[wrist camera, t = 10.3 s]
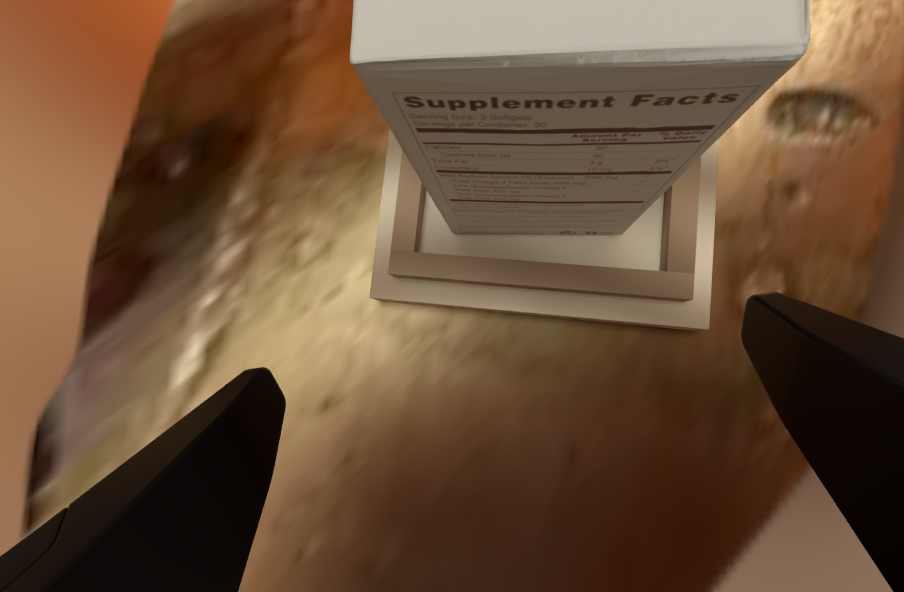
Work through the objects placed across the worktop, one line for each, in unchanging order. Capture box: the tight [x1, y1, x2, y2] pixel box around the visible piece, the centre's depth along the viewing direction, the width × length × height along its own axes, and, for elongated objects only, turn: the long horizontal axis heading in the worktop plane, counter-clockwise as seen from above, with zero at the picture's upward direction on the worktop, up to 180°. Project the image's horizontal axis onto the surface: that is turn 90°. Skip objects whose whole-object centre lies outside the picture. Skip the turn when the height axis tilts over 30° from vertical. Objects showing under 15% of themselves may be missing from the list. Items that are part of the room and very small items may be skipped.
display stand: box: [370, 129, 719, 331], centre depth 20 cm, size 14×14×2 cm
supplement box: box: [350, 0, 811, 235], centre depth 14 cm, size 7×7×13 cm
